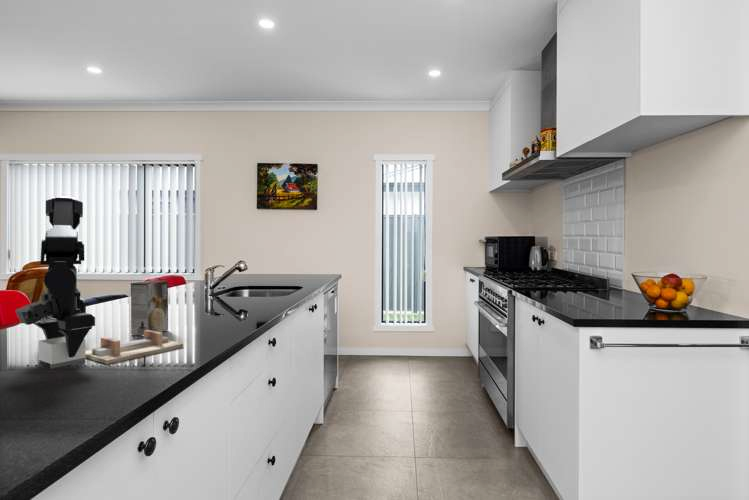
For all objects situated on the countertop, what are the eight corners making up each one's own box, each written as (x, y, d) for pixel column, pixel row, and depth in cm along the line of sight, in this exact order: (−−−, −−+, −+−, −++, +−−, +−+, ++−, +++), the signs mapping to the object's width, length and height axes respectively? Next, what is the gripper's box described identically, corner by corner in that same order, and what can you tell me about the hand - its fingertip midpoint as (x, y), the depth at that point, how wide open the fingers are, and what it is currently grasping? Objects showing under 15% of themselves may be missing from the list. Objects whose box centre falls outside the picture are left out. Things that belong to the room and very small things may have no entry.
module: (38, 364, 103) (38, 340, 103) (71, 357, 109) (71, 335, 109) (51, 368, 100) (51, 344, 100) (85, 361, 106) (85, 338, 105)
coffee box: (151, 329, 142) (151, 280, 142) (168, 330, 141) (169, 280, 141) (130, 335, 133) (130, 282, 133) (148, 336, 132) (148, 283, 132)
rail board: (77, 355, 111) (77, 338, 111) (153, 340, 128) (153, 326, 128) (106, 364, 103) (106, 346, 103) (183, 347, 120) (183, 332, 120)
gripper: (3, 288, 102) (4, 355, 102) (39, 294, 92) (40, 369, 93) (58, 284, 111) (58, 345, 112) (96, 290, 102) (96, 357, 102)
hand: (62, 354), depth 104 cm, fingers open, 9 cm apart
